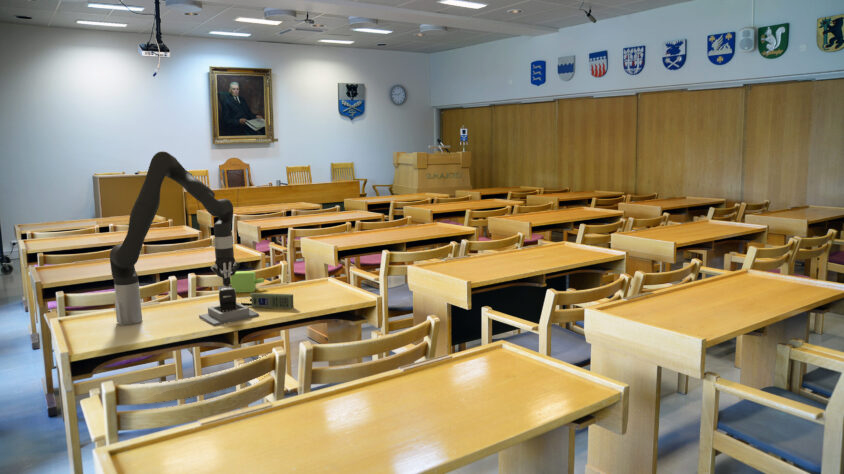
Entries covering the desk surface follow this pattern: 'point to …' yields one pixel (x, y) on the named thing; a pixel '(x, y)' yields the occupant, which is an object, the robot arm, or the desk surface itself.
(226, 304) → the battery
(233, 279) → the gearbox
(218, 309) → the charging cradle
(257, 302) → the handheld radio
